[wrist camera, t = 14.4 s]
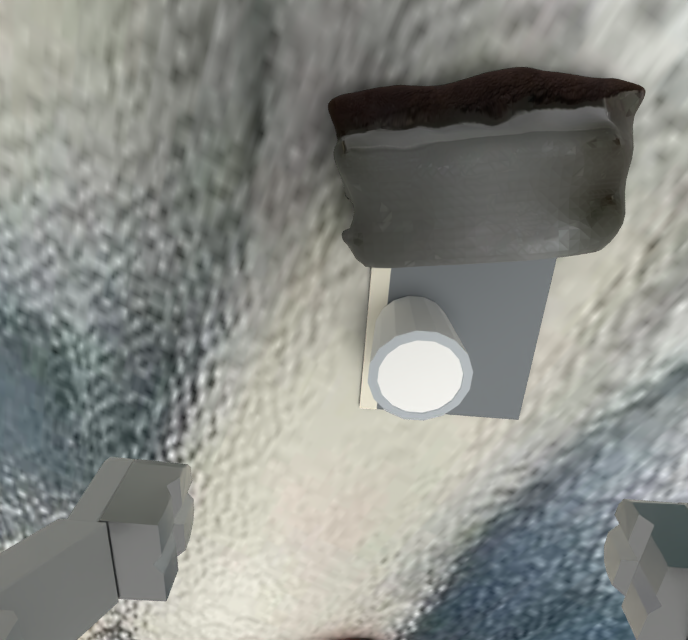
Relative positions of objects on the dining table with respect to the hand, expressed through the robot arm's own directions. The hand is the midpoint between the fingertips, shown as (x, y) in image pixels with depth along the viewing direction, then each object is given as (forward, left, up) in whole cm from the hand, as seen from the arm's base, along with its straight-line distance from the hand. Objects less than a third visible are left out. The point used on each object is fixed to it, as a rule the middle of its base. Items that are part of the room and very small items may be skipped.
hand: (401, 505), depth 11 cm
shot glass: (+11, +3, -31) cm, 33 cm away
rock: (-1, +5, -31) cm, 32 cm away
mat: (+12, +6, -31) cm, 34 cm away
